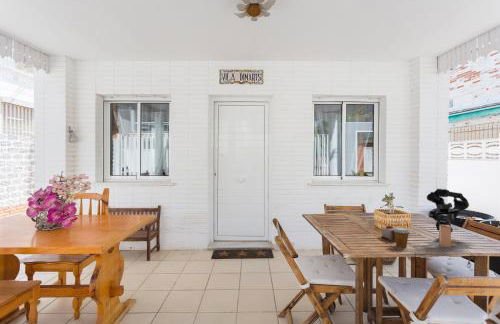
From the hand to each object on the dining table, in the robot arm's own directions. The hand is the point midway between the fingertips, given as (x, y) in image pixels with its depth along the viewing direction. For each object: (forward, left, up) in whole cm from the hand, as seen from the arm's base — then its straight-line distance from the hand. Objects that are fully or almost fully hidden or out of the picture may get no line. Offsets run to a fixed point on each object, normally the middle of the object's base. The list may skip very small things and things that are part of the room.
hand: (447, 224), depth 203 cm
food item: (-33, -16, -15) cm, 39 cm away
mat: (0, -3, -14) cm, 15 cm away
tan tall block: (0, -6, -14) cm, 15 cm away
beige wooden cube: (+3, -1, -14) cm, 15 cm away
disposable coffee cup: (-19, -28, -15) cm, 37 cm away
